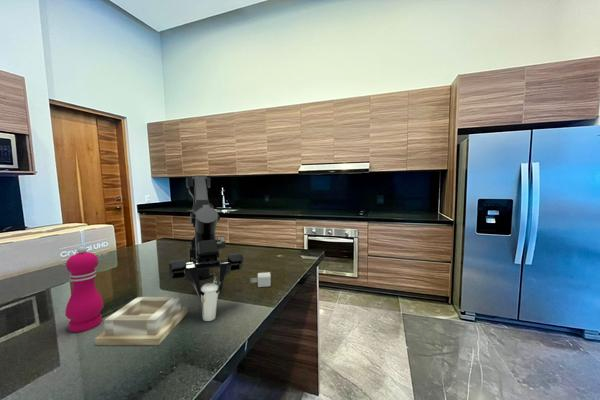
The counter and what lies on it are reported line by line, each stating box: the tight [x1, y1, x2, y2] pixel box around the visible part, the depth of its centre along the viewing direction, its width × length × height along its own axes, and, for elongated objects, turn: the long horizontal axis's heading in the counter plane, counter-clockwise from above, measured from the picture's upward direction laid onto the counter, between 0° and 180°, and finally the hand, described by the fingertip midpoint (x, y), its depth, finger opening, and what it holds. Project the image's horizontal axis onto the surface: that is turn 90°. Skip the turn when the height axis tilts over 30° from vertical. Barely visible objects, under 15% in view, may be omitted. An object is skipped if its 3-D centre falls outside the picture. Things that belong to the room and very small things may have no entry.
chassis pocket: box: [94, 296, 188, 346], centre depth 62 cm, size 14×14×5 cm
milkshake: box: [200, 282, 221, 322], centre depth 65 cm, size 5×5×10 cm
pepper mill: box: [64, 246, 104, 333], centre depth 62 cm, size 7×7×20 cm
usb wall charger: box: [249, 272, 272, 288], centre depth 87 cm, size 4×7×4 cm, turn 99°
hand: (210, 295), depth 64 cm, fingers closed on milkshake, 4 cm apart
